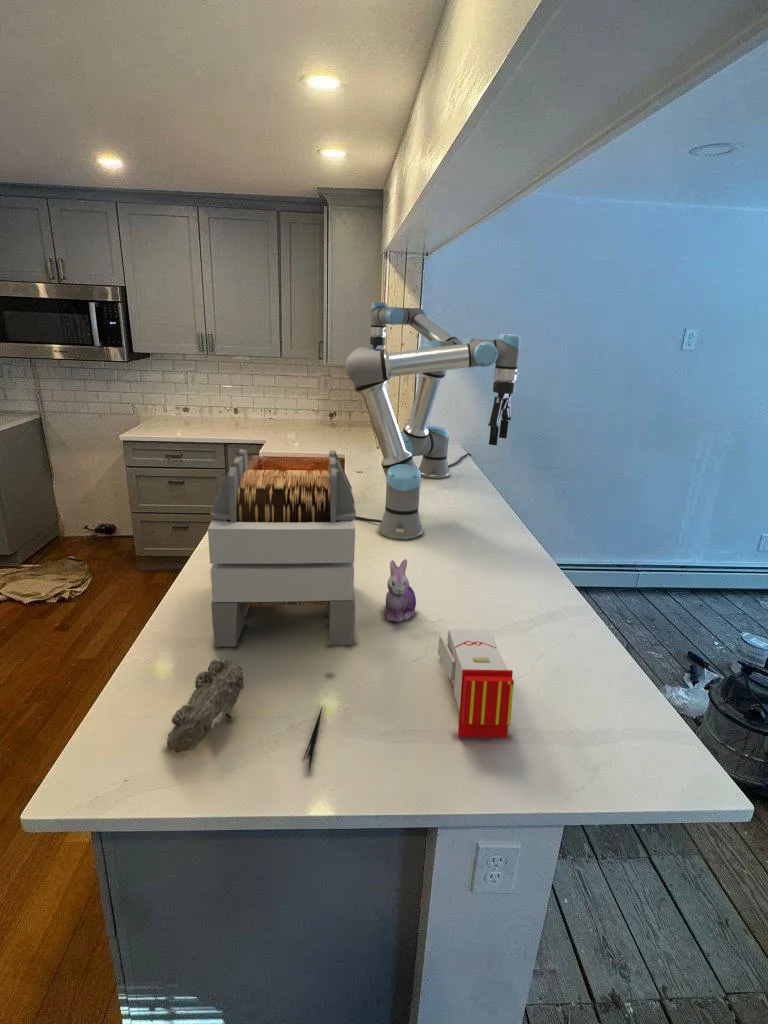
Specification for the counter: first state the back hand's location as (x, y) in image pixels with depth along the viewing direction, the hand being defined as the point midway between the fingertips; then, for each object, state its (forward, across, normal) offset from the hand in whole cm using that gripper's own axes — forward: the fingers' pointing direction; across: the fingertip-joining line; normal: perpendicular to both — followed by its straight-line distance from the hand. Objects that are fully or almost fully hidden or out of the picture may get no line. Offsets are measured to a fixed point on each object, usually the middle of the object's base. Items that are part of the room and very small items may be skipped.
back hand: (376, 385), depth 279 cm
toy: (+40, -155, -103) cm, 191 cm away
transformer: (+40, -147, -51) cm, 161 cm away
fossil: (+40, -187, -62) cm, 201 cm away
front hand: (+8, -56, -78) cm, 96 cm away
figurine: (+40, -134, -77) cm, 159 cm away
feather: (+40, -178, -80) cm, 199 cm away
